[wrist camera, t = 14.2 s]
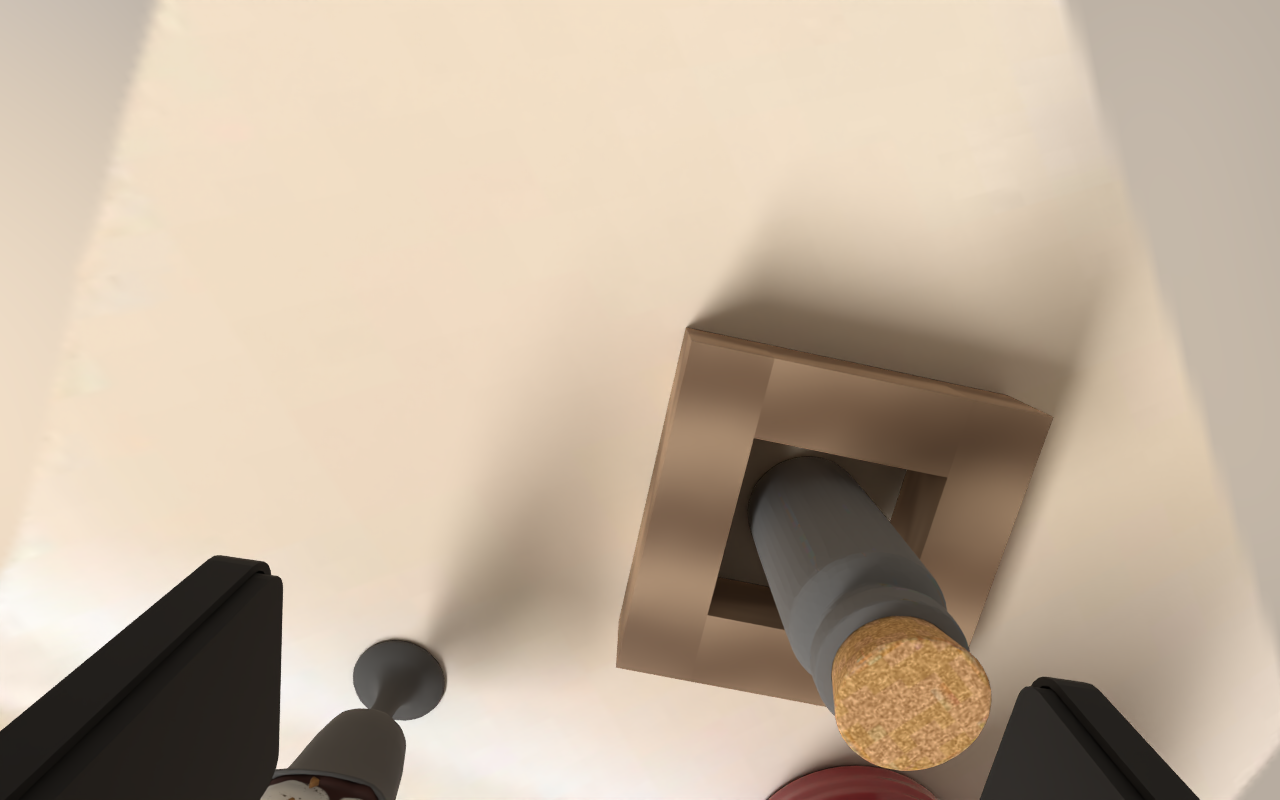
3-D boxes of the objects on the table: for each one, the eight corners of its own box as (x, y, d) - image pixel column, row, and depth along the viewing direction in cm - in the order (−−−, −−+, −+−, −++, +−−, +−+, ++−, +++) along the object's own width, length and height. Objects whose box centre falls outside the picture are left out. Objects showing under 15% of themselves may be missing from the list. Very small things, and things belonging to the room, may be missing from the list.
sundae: (336, 619, 37) (141, 872, 23) (463, 632, 37) (349, 891, 23) (336, 725, 39) (152, 1025, 24) (457, 737, 39) (347, 1042, 25)
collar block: (686, 327, 33) (691, 341, 30) (1006, 395, 34) (1053, 417, 30) (618, 621, 37) (616, 667, 33) (908, 676, 38) (939, 727, 34)
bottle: (731, 477, 35) (792, 657, 21) (843, 439, 35) (986, 595, 20) (766, 576, 37) (848, 811, 22) (875, 541, 36) (1031, 756, 22)
